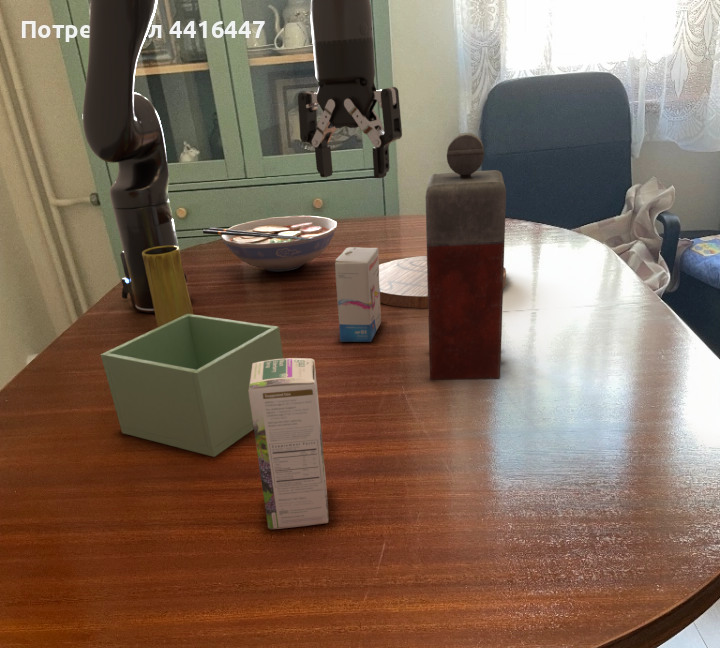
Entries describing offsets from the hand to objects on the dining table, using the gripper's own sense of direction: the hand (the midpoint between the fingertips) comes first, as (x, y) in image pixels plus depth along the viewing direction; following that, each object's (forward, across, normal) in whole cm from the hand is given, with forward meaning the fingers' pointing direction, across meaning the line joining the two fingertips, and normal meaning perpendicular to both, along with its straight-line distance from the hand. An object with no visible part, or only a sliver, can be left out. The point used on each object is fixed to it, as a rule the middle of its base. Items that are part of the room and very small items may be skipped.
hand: (352, 176), depth 98 cm
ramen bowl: (+22, +34, -27) cm, 49 cm away
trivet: (+22, 0, -25) cm, 34 cm away
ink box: (+22, 0, 0) cm, 22 cm away
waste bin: (+22, +3, +32) cm, 39 cm away
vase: (+22, +24, +14) cm, 36 cm away
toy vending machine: (+22, -19, +5) cm, 29 cm away
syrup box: (+22, -19, +44) cm, 53 cm away
